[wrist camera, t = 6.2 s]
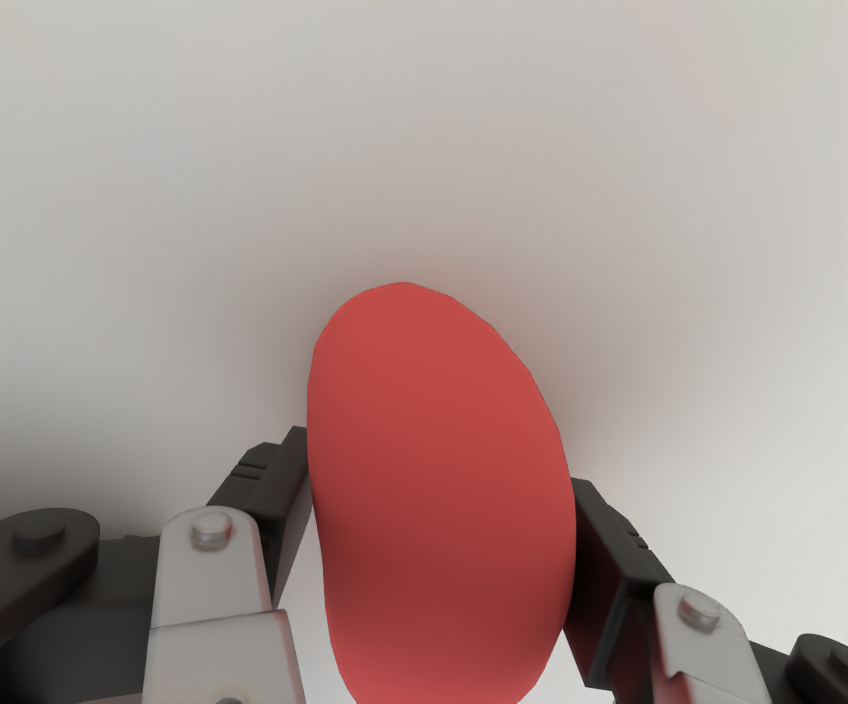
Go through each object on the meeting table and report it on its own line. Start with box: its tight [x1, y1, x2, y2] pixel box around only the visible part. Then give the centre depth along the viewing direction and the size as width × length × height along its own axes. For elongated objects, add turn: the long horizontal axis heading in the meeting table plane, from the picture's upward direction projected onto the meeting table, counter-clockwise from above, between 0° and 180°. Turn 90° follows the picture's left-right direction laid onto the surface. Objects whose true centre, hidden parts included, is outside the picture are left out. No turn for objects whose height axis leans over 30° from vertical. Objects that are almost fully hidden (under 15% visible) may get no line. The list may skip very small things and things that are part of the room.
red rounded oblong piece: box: [307, 282, 576, 704], centre depth 10 cm, size 5×9×6 cm, turn 172°
